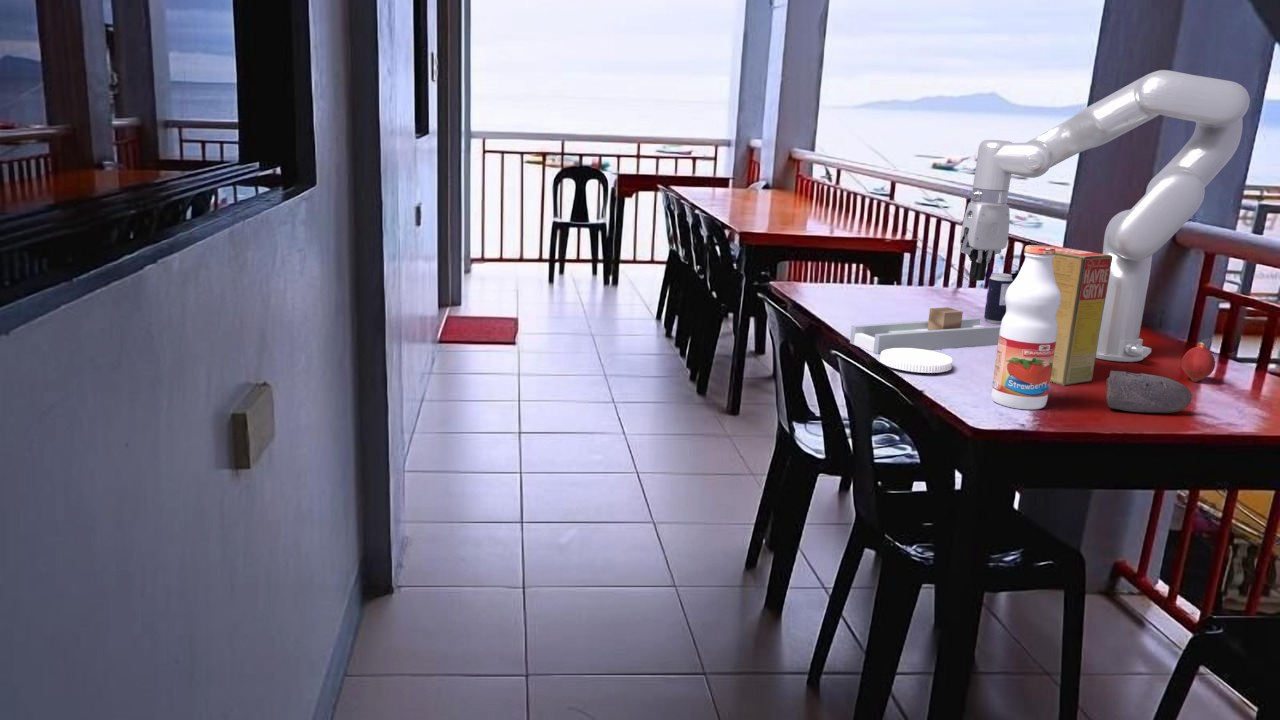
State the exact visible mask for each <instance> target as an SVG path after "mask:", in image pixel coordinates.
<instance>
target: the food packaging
mask: <svg viewBox="0 0 1280 720" xmlns="http://www.w3.org/2000/svg"><path fill="white" fill-rule="evenodd" d="M1048 247H1053V248H1055V255H1054V258H1053V259H1052V266H1053V271H1054V276H1055V280H1056V283H1057V286H1058V288H1059V290H1060V292H1061V305H1060V308H1059V310H1058V312H1057V314H1056V321H1057V325H1058V330H1057V340H1056V346H1055V352H1054V359H1053V366H1052V372H1051V379H1050V383H1052V382H1053V384H1056V385H1060V386H1062V387H1063V386H1071V385H1075V384H1082V383H1083V384H1084V383H1087V382H1092V381H1093V377H1094V376H1093V375H1094V369H1095V362H1096V359H1097V358H1096V352H1097V346H1098V340H1099V333H1100V327H1101V322H1102V316H1103V310H1104V304H1105V299H1106V293H1107V287H1108V281H1109V275H1110V270H1111V263H1112V259H1113V256H1112V255H1105V254H1103V253H1097V252H1092V251H1087V250H1082V249H1081V250H1079V249H1075V248H1067V247H1062V246H1058V245H1057V246H1056V245H1053V246H1052V245H1049V246H1048Z"/></svg>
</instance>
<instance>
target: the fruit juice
mask: <svg viewBox="0 0 1280 720" xmlns="http://www.w3.org/2000/svg"><path fill="white" fill-rule="evenodd" d="M1023 250H1024V251H1023V252H1024V253H1023V255H1024V257H1025V258H1024V261H1023V263H1022V266H1021V267H1020V270H1019V272H1018V274H1017V276H1016V277H1015V278H1014V279H1013V282H1012V283H1011V285H1010V286H1009V287H1008V289H1007V291H1006V295H1005V303H1006V313H1005V315H1004V317H1003V319H1002V322H1001V324H1000V325H999V326H1000V332H999V340H998V345H997V349H996V356H995V364H994V369H993V370H994V371H993V379H992V385H991V396H990V397H991V400H992V402H994V403H997V404H999V405H1001V406H1004V407H1008V408H1012V409H1018V410H1040V409H1043V408H1045V407H1046V405H1047V402H1048V400H1049V399H1048V398H1049V392H1050V385H1051V384H1050V383H1051V382H1050V379H1051V372H1052V366H1053V359H1054V352H1055V346H1056V340H1057V330H1058V325H1057V321H1056V314H1057V312H1058V310H1059V308H1060V305H1061V292H1060V290H1059V288H1058V286H1057V283H1056V280H1055V276H1054V271H1053V266H1052V259H1053V258H1054V255H1055V248H1053V247H1048V246H1047V245H1037V244H1036V245H1035V244H1031V245H1030V244H1029V245H1026V246H1025V247H1024V249H1023Z"/></svg>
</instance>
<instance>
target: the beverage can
mask: <svg viewBox="0 0 1280 720" xmlns="http://www.w3.org/2000/svg"><path fill="white" fill-rule="evenodd" d="M1013 281H1014V279H1013V275H1012V274H1009V273H1002V272H994V273H993V272H992V273H991V275H990V277H989V279H988V283H987V284H988V285H987V290H986V291H987V292H986V301H985V308H984V314H983V315H984V317H983V318H984V319H985V320H986V322H987V323H991V324H999V325H1001V322H1002V319H1003V317H1004V315H1005V313H1006V303H1005V295H1006V291H1007V289H1008V287H1009V286H1010V285H1011V283H1012V282H1013Z"/></svg>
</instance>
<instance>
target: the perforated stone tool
mask: <svg viewBox="0 0 1280 720" xmlns="http://www.w3.org/2000/svg"><path fill="white" fill-rule="evenodd" d="M1105 386H1106V388H1105V392H1106V398H1105V399H1106V402H1107V405H1108V408H1110V409H1115V410H1119V411H1120V410H1121V411H1125V412H1131V413H1132V412H1134V413H1145V414H1146V413H1147V414H1170V413H1176V412H1181V411H1183V410H1185V409H1186V408H1187V407H1189V405H1190V404H1191V402H1192V400H1193V399H1192V395H1193V394H1192V390H1191V389H1189V388H1188V387H1187V385H1186V386H1185V385H1184V384H1183V383H1181V382H1178V381H1176V380H1173V379H1171V378H1168V377H1164V376H1160V375H1156V374H1155V375H1154V374H1147V373H1143V372H1141V373H1133V372H1131V371H1130V372H1129V371H1121V370H1120V371H1119V370H1110V372H1109V377H1108V378H1107V379H1106V385H1105Z"/></svg>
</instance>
